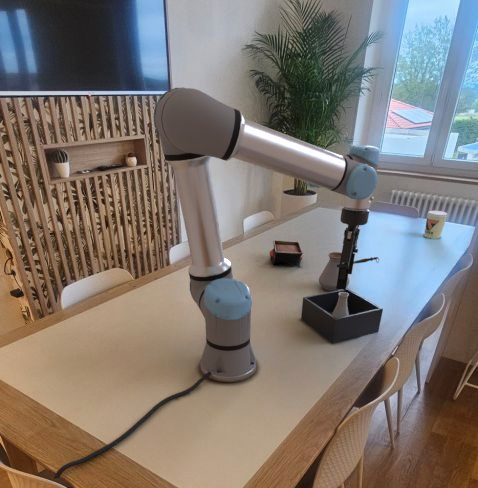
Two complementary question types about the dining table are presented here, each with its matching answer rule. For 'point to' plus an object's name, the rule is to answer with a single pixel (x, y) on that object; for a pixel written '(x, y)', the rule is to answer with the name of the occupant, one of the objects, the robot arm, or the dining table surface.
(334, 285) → the coffee pot
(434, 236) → the coffee cup
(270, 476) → the dining table surface
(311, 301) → the dark grey open box
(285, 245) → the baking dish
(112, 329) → the dining table surface
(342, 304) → the flask
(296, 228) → the dining table surface
